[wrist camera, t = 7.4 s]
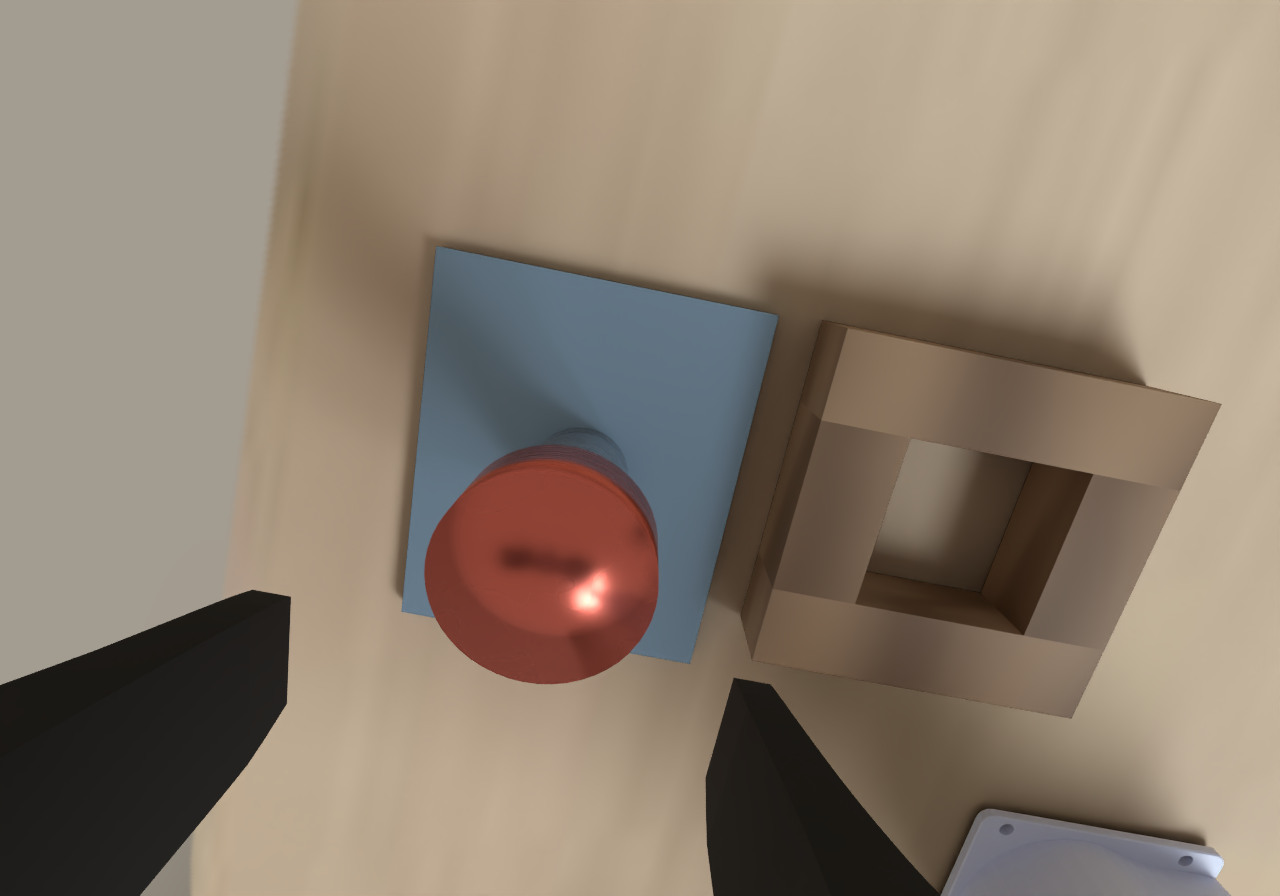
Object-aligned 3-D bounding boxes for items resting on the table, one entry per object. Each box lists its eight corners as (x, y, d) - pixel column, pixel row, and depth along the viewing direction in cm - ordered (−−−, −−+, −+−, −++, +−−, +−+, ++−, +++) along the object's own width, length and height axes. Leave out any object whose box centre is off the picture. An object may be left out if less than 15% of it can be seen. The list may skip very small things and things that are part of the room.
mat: (775, 314, 18) (778, 315, 18) (689, 654, 22) (689, 663, 21) (441, 246, 18) (436, 246, 17) (407, 603, 21) (401, 611, 21)
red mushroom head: (671, 416, 19) (681, 500, 12) (640, 556, 20) (633, 702, 13) (516, 384, 18) (437, 451, 12) (494, 527, 20) (413, 661, 13)
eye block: (1148, 386, 19) (1222, 404, 16) (1024, 668, 21) (1071, 718, 19) (822, 320, 18) (847, 328, 16) (740, 615, 21) (751, 660, 19)
